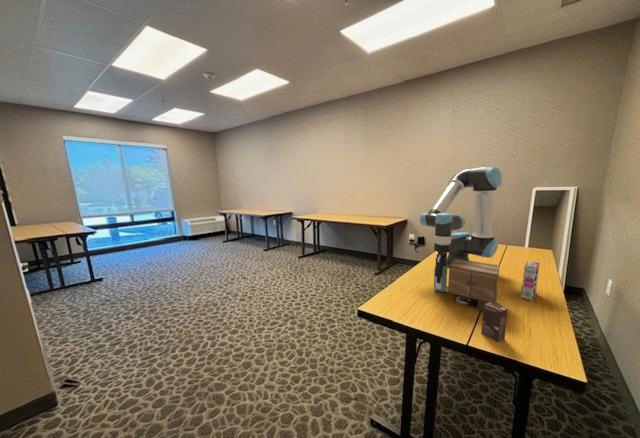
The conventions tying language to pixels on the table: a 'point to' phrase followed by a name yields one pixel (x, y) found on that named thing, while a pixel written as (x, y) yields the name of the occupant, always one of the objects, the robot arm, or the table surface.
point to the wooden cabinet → (474, 281)
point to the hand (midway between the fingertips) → (440, 286)
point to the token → (463, 301)
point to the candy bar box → (530, 280)
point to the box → (494, 321)
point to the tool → (444, 280)
